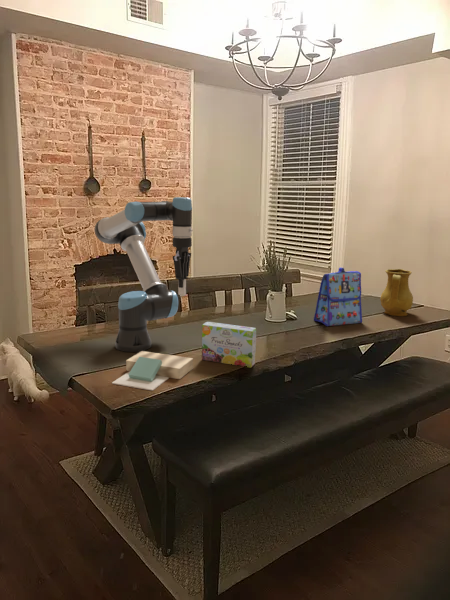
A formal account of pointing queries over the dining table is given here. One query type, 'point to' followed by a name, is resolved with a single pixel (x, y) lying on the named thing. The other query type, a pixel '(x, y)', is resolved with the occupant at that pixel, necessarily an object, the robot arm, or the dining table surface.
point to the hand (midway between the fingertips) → (182, 294)
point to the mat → (140, 382)
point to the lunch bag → (339, 299)
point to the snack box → (228, 344)
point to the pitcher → (397, 293)
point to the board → (165, 364)
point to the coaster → (145, 369)
